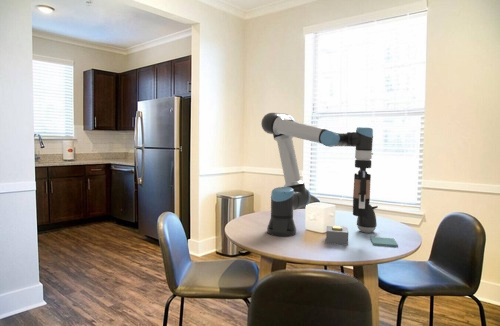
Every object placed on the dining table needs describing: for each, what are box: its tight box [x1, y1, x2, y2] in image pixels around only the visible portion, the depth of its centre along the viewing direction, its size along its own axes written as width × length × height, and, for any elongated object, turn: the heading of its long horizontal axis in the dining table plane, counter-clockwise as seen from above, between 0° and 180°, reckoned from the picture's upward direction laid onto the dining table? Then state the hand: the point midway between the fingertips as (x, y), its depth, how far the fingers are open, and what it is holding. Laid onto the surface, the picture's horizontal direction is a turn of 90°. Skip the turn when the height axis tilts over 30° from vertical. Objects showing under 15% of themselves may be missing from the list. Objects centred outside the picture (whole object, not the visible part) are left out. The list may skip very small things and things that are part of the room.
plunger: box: [332, 225, 343, 231], centre depth 168 cm, size 4×4×6 cm
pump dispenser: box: [356, 203, 378, 234], centre depth 186 cm, size 10×10×15 cm
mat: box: [370, 236, 399, 248], centre depth 167 cm, size 11×11×1 cm
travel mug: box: [352, 173, 372, 217], centre depth 167 cm, size 8×8×20 cm
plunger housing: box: [325, 225, 349, 246], centre depth 168 cm, size 10×10×6 cm
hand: (360, 206), depth 168 cm, fingers closed on travel mug, 8 cm apart
